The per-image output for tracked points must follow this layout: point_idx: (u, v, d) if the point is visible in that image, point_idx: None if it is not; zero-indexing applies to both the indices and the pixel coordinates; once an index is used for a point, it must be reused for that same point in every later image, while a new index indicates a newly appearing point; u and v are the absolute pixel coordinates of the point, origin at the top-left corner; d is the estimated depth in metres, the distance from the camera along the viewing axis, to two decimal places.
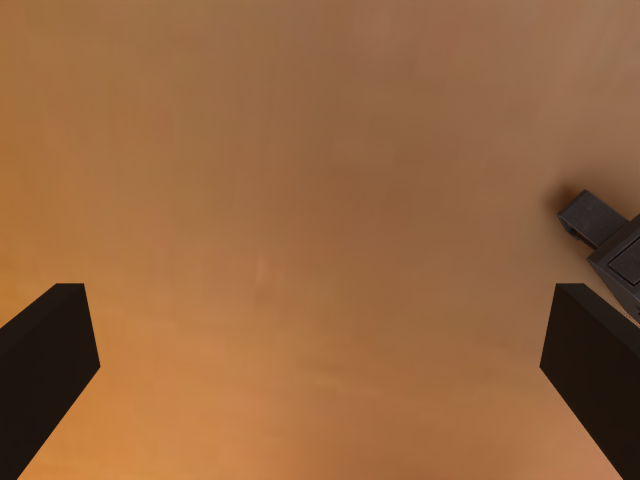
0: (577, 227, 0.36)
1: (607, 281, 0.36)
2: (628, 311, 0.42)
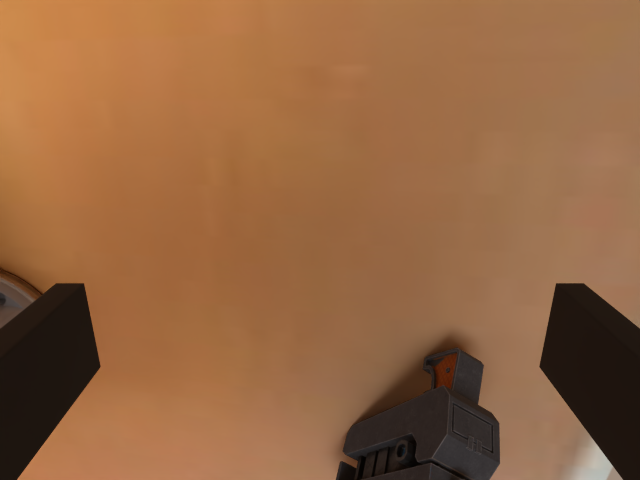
0: (458, 368, 0.40)
1: (418, 407, 0.40)
2: (360, 427, 0.47)
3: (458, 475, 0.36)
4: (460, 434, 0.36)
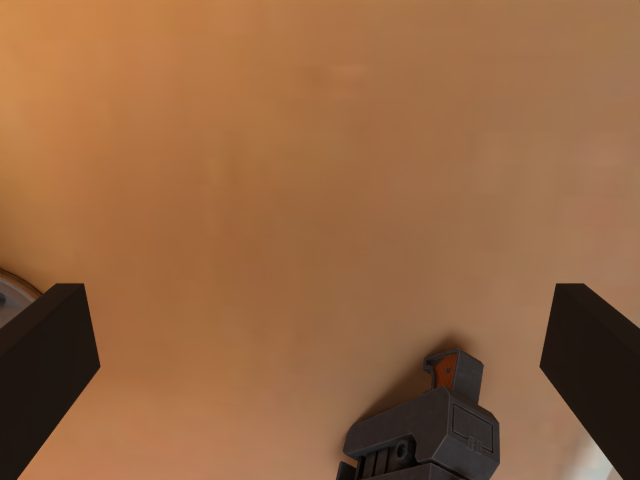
0: (458, 368, 0.40)
1: (418, 407, 0.40)
2: (360, 427, 0.47)
3: (458, 475, 0.36)
4: (460, 434, 0.36)
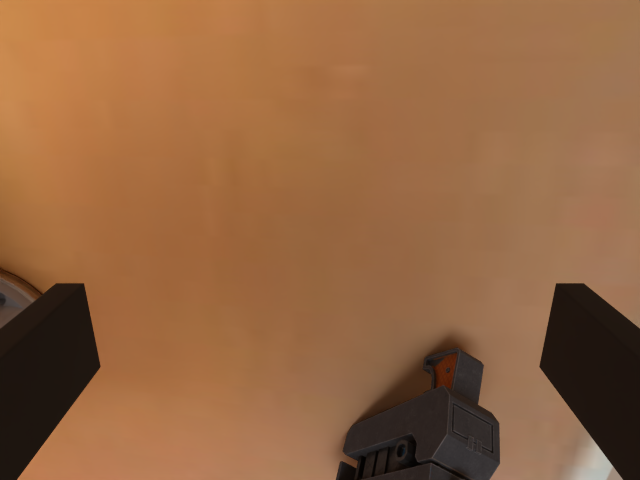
0: (458, 368, 0.40)
1: (418, 407, 0.40)
2: (360, 427, 0.47)
3: (458, 475, 0.36)
4: (460, 434, 0.36)
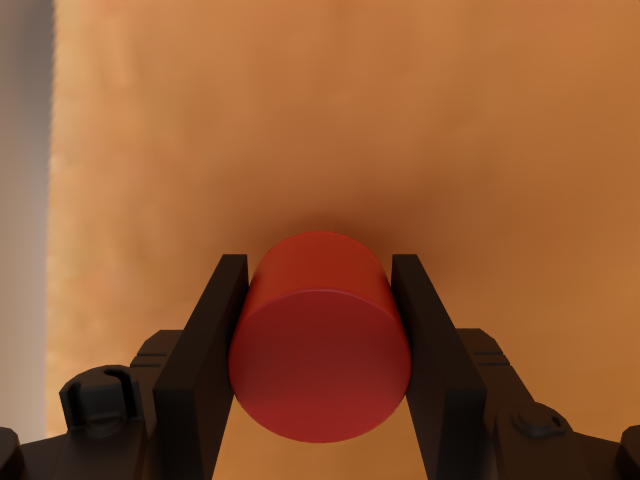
0: None
1: None
2: None
3: None
4: None
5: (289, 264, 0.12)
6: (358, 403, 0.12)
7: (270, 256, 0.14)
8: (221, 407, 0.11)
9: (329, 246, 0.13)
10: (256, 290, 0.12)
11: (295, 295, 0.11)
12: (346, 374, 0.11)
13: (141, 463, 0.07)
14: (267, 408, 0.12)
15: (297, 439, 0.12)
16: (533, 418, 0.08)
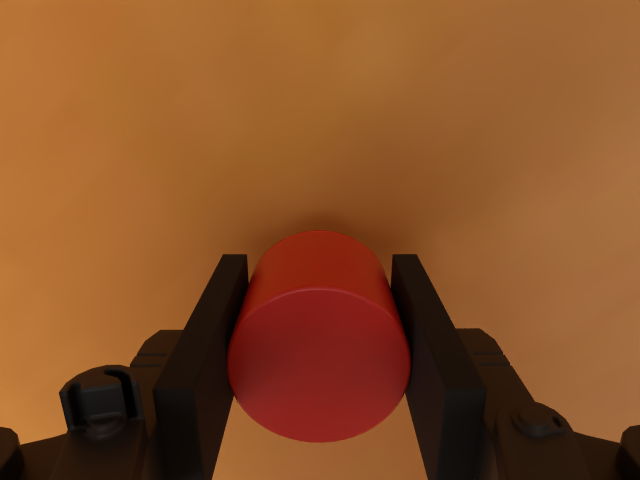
0: None
1: None
2: None
3: None
4: None
5: (288, 264, 0.12)
6: (357, 402, 0.12)
7: (269, 255, 0.14)
8: (221, 407, 0.11)
9: (328, 245, 0.13)
10: (255, 289, 0.12)
11: (293, 294, 0.11)
12: (345, 373, 0.11)
13: (141, 463, 0.07)
14: (266, 407, 0.12)
15: (296, 438, 0.12)
16: (533, 417, 0.08)
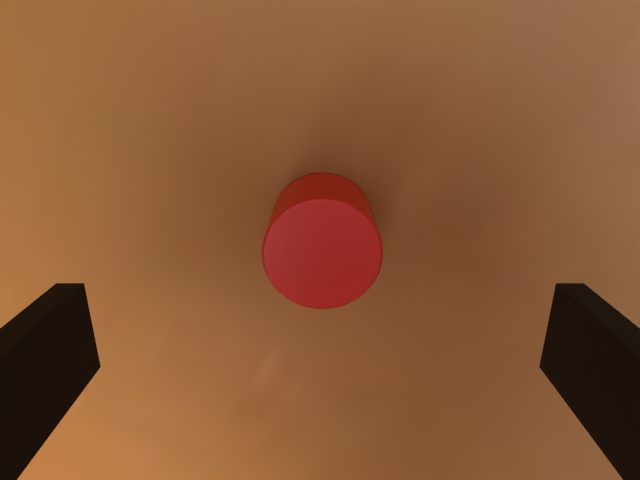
0: None
1: None
2: None
3: None
4: None
5: (301, 190, 0.18)
6: (347, 279, 0.18)
7: (288, 189, 0.20)
8: None
9: (329, 180, 0.19)
10: (280, 206, 0.18)
11: (306, 203, 0.17)
12: (339, 258, 0.17)
13: None
14: (287, 283, 0.18)
15: (307, 305, 0.18)
16: None
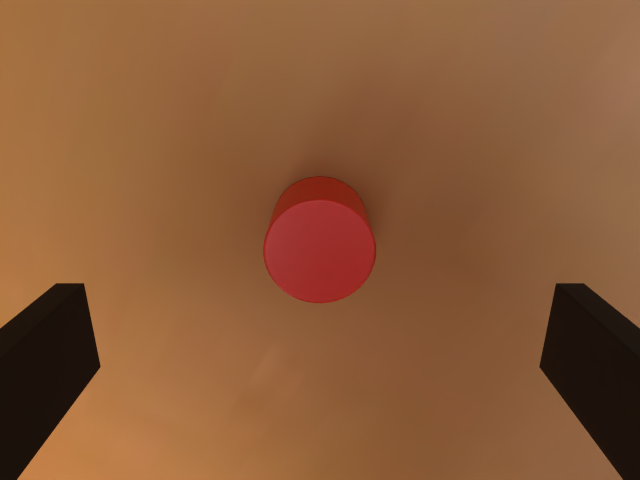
0: None
1: None
2: None
3: None
4: None
5: (300, 192, 0.19)
6: (343, 275, 0.19)
7: (287, 191, 0.21)
8: None
9: (326, 183, 0.20)
10: (280, 207, 0.19)
11: (304, 204, 0.18)
12: (335, 255, 0.19)
13: None
14: (287, 278, 0.19)
15: (305, 300, 0.19)
16: None
